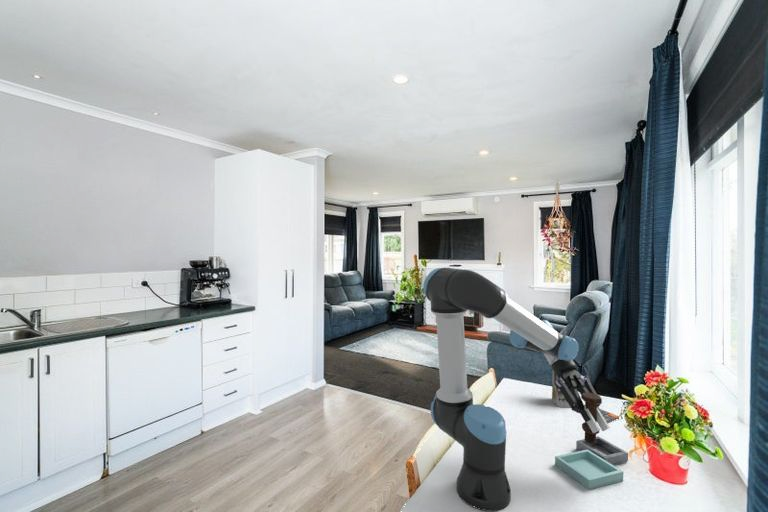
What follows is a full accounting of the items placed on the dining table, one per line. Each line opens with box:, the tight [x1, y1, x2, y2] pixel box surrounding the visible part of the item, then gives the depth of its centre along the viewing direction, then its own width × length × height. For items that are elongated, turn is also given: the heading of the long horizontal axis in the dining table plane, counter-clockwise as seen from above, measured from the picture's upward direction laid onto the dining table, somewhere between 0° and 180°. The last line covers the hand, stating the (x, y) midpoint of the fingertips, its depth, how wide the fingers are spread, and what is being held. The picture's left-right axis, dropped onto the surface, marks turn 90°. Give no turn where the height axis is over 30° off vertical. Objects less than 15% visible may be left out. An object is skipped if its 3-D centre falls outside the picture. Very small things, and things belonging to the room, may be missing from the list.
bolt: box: [580, 393, 603, 444], centre depth 116 cm, size 6×5×15 cm
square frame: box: [575, 435, 629, 466], centre depth 126 cm, size 10×11×3 cm
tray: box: [554, 450, 624, 491], centre depth 116 cm, size 14×13×3 cm
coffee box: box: [551, 370, 572, 409], centre depth 169 cm, size 9×6×16 cm
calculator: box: [575, 404, 620, 424], centre depth 159 cm, size 12×1×15 cm
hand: (601, 430), depth 112 cm, fingers closed on bolt, 3 cm apart
